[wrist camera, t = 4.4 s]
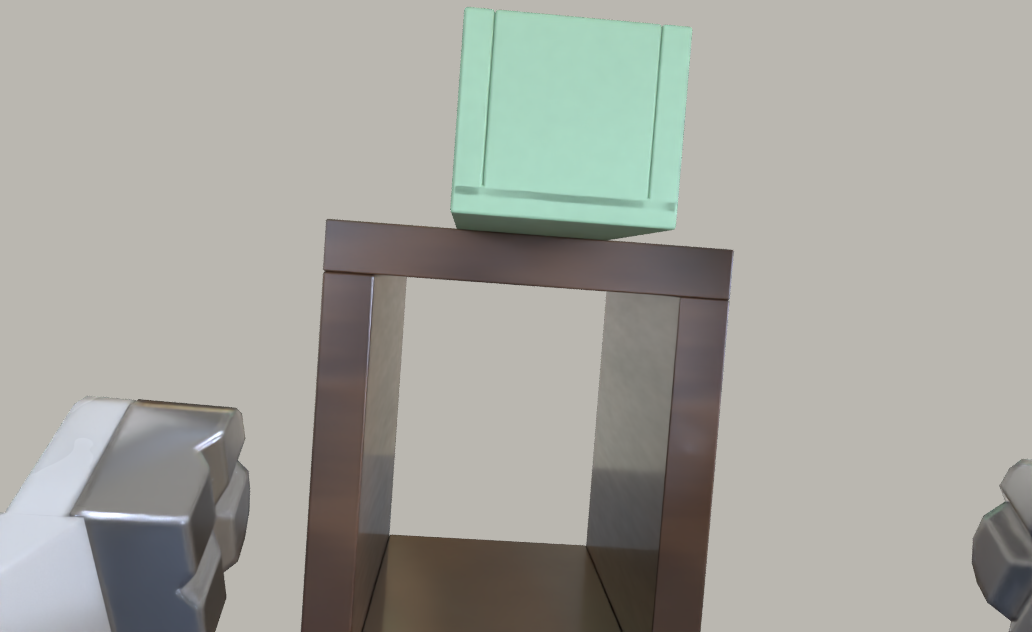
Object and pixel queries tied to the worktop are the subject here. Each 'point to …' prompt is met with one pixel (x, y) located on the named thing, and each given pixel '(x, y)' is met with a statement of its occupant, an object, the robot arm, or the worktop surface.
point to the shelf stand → (617, 449)
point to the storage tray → (569, 125)
